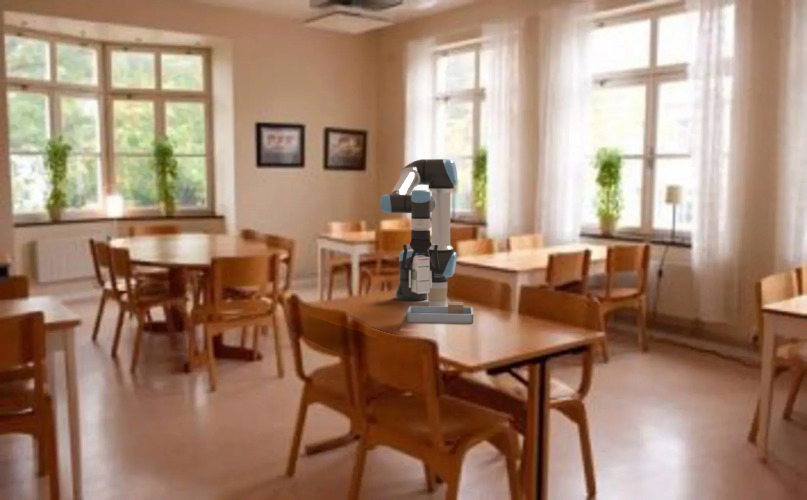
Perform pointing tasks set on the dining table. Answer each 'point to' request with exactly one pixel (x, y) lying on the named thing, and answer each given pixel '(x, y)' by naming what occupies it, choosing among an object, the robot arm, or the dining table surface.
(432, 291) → the coffee cup
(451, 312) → the walnut block
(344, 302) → the dining table surface
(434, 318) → the tray
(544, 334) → the dining table surface
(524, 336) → the dining table surface
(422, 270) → the syrup box
